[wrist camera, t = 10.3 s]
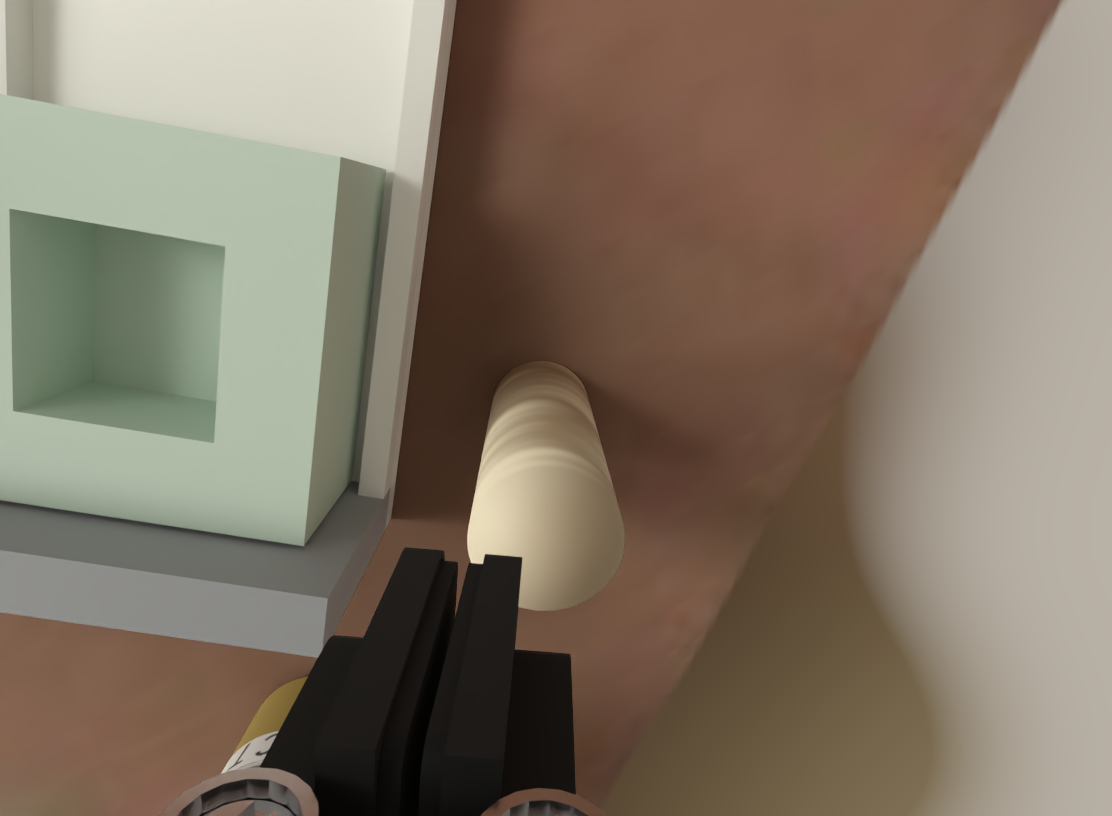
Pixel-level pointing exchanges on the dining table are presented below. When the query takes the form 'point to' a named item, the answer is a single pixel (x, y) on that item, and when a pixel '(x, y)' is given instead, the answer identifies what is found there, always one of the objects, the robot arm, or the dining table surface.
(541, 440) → the dowel
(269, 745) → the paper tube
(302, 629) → the rail base
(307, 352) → the slide block
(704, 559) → the dining table surface
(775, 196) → the dining table surface
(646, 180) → the dining table surface
